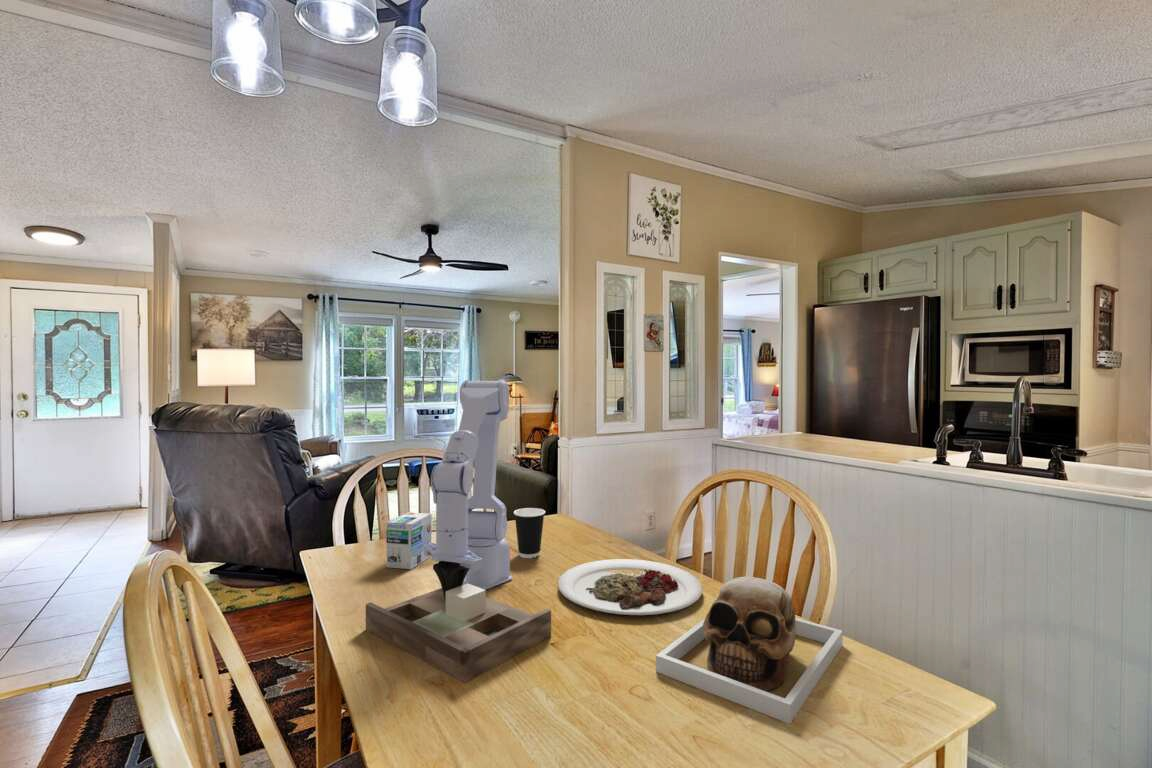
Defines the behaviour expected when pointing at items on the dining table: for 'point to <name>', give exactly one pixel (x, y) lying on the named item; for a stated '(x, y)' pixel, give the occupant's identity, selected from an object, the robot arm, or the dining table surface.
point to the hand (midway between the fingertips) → (452, 601)
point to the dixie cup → (529, 531)
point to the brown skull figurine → (751, 632)
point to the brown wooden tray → (458, 633)
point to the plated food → (630, 587)
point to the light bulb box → (408, 540)
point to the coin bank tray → (744, 693)
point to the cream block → (465, 602)
